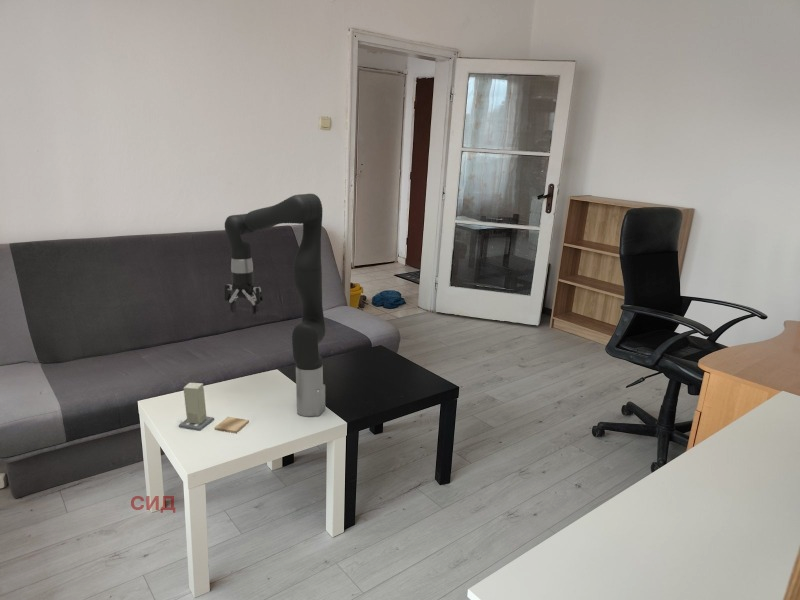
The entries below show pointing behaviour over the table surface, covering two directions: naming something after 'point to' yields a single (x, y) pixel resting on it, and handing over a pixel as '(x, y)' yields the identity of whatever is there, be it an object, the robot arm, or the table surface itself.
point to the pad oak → (231, 425)
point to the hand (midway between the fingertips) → (244, 313)
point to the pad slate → (196, 426)
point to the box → (195, 403)
